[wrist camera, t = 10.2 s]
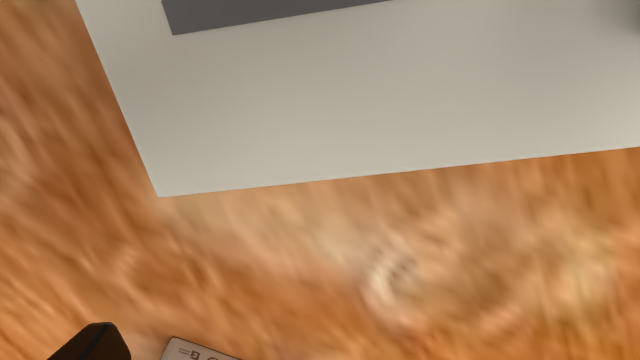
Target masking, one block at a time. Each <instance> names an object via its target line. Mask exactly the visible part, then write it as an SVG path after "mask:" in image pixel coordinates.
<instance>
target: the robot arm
mask: <svg viewBox="0 0 640 360" xmlns="http://www.w3.org/2000/svg"><path fill="white" fill-rule="evenodd" d="M47 360H131V354H130V351H129V349H128V347H127V345H126V343H125V341H124V340H123V338H122V336H121V334H120V332H119V330H118V329H117V327H116V326H115V325H114V324H113V323H111V322H102V323H92V324H89V325H87V326H86V327H84V328H83V329H82V330H81V331H80V332H79V333H77V334H76V335H75V336H74V337H73V338H72V339H70V340H69V341H68V342H67V343H66V344H65V345H63V346H62V347H61V348H60V349H59V350H58V351H56V352H55V353H54V354H53V355H52V356H51V357H49V358H48V359H47Z"/></svg>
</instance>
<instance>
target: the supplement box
mask: <svg viewBox="0 0 640 360" xmlns="http://www.w3.org/2000/svg"><path fill="white" fill-rule="evenodd" d="M161 360H238V359H236V358H233V357H230V356H227V355H224V354H222V353H219V352H216V351H213V350H211V349H208V348H205V347H202V346H199V345H196V344H194V343H191V342H188V341H185V340H182V339H179V338H174V337H173V338H171V340H170V342H169V344H168V345H167V347H166V349H165V351H164V353H163V355H162V358H161Z"/></svg>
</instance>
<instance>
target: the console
mask: <svg viewBox="0 0 640 360" xmlns="http://www.w3.org/2000/svg"><path fill="white" fill-rule="evenodd" d="M75 2H76V4H77V6H78V9H79V11H80V14H81V16H82V18H83V21H84V23H85V25H86V28H87V30H88V33H89V35H90V37H91V40H92V42H93V45H94V47H95V49H96V52H97V54H98V56H99V59H100V61H101V64H102V66H103V68H104V71H105V73H106V75H107V78H108V80H109V83H110V85H111V87H112V90H113V92H114V95H115V97H116V99H117V102H118V104H119V106H120V109H121V111H122V114H123V116H124V118H125V121H126V123H127V126H128V128H129V130H130V133H131V135H132V137H133V140H134V142H135V145H136V147H137V149H138V152H139V154H140V157H141V159H142V161H143V164H144V166H145V168H146V171H147V173H148V176H149V178H150V180H151V183H152V185H153V187H154V190H155V192H156V195H157V197H158V198H161V197H171V196H180V195H189V194H199V193H208V192H218V191H227V190H236V189H246V188H255V187H264V186H274V185H283V184H293V183H302V182H311V181H321V180H330V179H340V178H349V177H358V176H368V175H377V174H386V173H396V172H405V171H415V170H424V169H433V168H443V167H452V166H461V165H471V164H480V163H490V162H499V161H508V160H518V159H527V158H536V157H546V156H555V155H565V154H574V153H583V152H593V151H602V150H612V149H621V148H630V147H640V0H75Z"/></svg>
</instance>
